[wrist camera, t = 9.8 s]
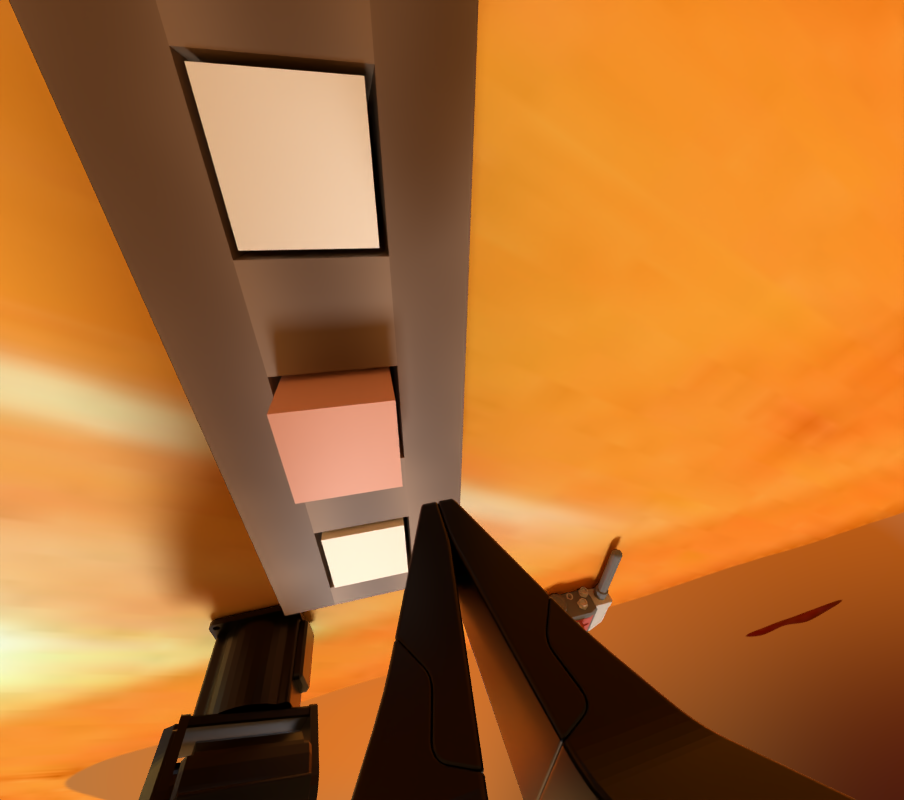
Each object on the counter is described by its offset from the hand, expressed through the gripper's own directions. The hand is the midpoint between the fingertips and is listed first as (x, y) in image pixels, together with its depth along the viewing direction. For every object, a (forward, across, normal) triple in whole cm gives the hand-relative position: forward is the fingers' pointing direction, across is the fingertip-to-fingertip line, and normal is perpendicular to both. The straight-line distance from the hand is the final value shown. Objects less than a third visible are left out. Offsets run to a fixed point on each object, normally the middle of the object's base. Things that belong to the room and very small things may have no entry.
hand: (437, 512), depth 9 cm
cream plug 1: (+12, +2, -8) cm, 14 cm away
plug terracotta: (+10, +3, +1) cm, 10 cm away
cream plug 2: (+12, +3, +9) cm, 15 cm away
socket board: (+12, +2, +1) cm, 12 cm away
